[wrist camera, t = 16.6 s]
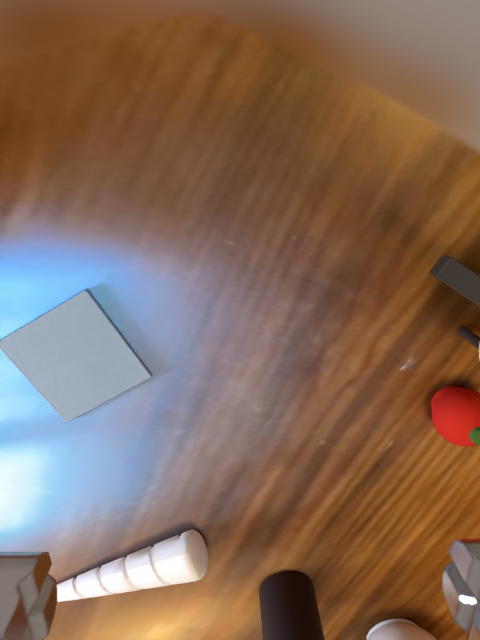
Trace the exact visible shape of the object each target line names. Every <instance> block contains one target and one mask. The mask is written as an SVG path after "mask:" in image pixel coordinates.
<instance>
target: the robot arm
mask: <svg viewBox="0 0 480 640" xmlns="http://www.w3.org/2000/svg"><path fill="white" fill-rule="evenodd" d="M449 554H450V556H451V558H452V559H453V561H452V562H451V563H450V564H449V565H447V566H446V567H445V568H444V572H443V577H442V586H443V595H444V598H445V601H446V604H447V607H448V609H449V611H450V613H451V616H452V618H453V620H454V621H455V622H456V623H457V624H458V625H460V626H461V627H462V628H463V629H464V630H465V631H466V632H468V635H467V640H480V539H460V540H455V541H454V542H453V543H452V544H451V547H450V550H449ZM51 564H52V563H51V559H50V556H49V553H48V552H0V640H44V639H45V638H46V637H47V636H48V634H49V631H50V628H51V625H52V622H53V619H54V615H55V610H56V604H57V585H56V580H55V579H54V578H53V577H52V576H50V575H49V574H48V572H49V569H50V567H51Z"/></svg>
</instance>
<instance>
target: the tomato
mask: <svg viewBox="0 0 480 640" xmlns="http://www.w3.org/2000/svg"><path fill="white" fill-rule="evenodd" d="M431 407H432V421H433V424H434V427H435V428H436V430H437V431H438V433H439V434H440V435H441V436H442V437H443V438H444V439H446V440H447V441H449V442H451V443H453V444H456V445H459V446H475V445H480V393H478V392H476V391H473V390H470V389H466V388H460V387H457V386H447V387H444V388H442V389H440V390H439V391H438V392H437V393H436V394H435V395H434V396H433V398H432V401H431Z"/></svg>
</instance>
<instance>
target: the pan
mask: <svg viewBox="0 0 480 640" xmlns="http://www.w3.org/2000/svg"><path fill="white" fill-rule="evenodd" d="M429 273H430V274H431V275H433V276H434V277H436V278H437V279H439V280H440V281H441V282H443V283H444V284H446V285H447V286H449V287H450V288H452V289H453V290H455V291H456V292H458V293H459V294H461V295H462V296H464V297H465V298H467V299H468V300H470V301H471V302H473V303H474V304H476V305H477V306H479V307H480V277H479V276H478V275H477V274H475V273H474V272H472V271H471V270H469V269H468V268H467V267H465V266H464V265H462V264H461V263H459V262H458V261H457V260H455V259H454V258H452V257H451V256H448V255H446V254H443V255H442V257H441V258H440V259H439V260H438V262H437V263H436V264H435V265H434V267H433V268H432V269H431V270H430V272H429ZM459 335H460V336H462V337H463V338H464V339H466V340H467V341H468V342H469V343H471V344H472V345H473V346H474V347H476V348H477V349H478V350H479V359H480V337H479V336H477V335H476V334H475V333H473V332H472V331H471V330H469V329H468V328H466V327H462V328H460V329H459Z"/></svg>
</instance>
